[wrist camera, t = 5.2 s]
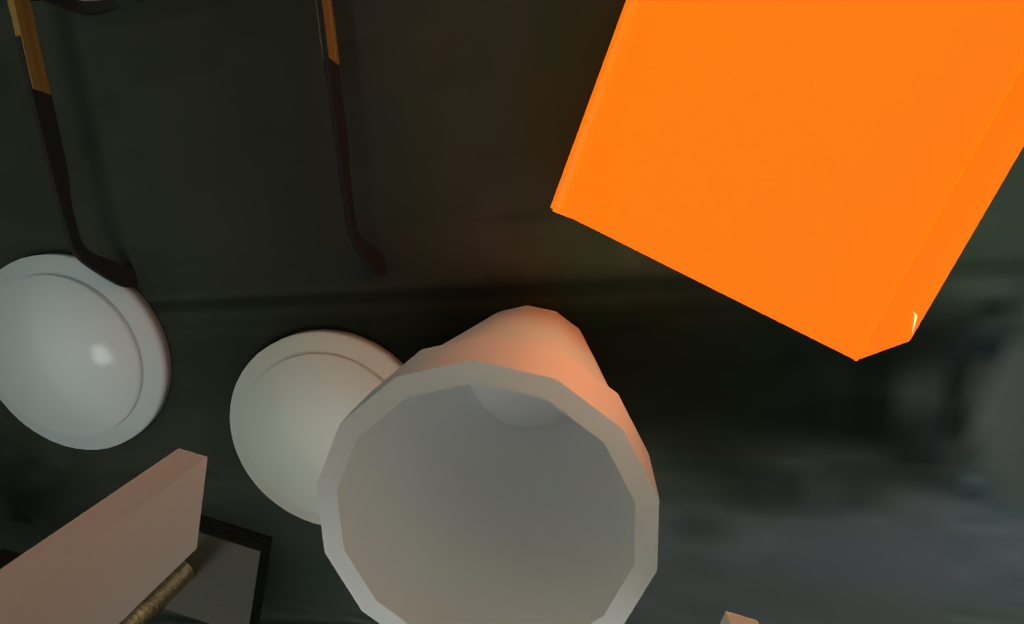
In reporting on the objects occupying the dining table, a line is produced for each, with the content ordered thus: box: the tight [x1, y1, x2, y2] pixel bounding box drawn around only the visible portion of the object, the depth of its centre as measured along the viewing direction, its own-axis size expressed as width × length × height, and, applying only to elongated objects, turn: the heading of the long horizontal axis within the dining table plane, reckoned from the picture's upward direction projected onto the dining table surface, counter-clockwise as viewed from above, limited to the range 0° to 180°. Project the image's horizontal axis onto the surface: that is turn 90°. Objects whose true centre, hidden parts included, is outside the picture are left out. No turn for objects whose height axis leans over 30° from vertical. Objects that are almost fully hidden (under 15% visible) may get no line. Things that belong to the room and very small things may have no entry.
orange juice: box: [550, 0, 1024, 361], centre depth 14 cm, size 8×9×20 cm
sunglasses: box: [7, 0, 386, 288], centre depth 25 cm, size 14×15×5 cm
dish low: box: [0, 253, 172, 450], centre depth 30 cm, size 11×11×1 cm
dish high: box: [230, 329, 404, 525], centre depth 29 cm, size 11×11×1 cm
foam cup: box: [316, 305, 659, 624], centre depth 21 cm, size 10×9×13 cm
